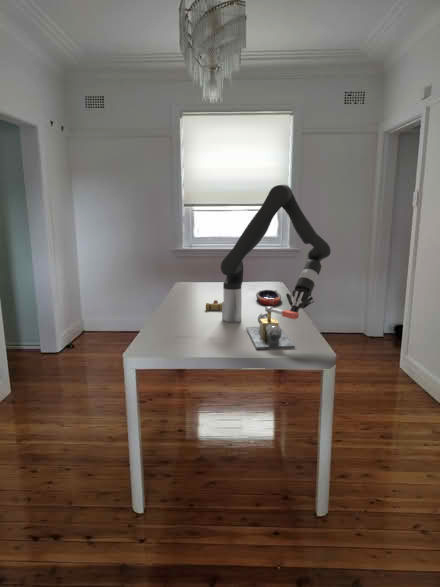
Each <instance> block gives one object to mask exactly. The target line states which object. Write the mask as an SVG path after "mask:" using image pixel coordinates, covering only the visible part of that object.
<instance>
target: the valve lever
mask: <svg viewBox="0 0 440 587" xmlns="http://www.w3.org/2000/svg"><path fill="white" fill-rule="evenodd" d="M264 308H265V309H264V311H265V313H266V312H271V313H275V314H278V315H281V316H282V317H285V318H288V319H291V320H296V319H299V312H298V313H297V312H293V311H290V310H289V309H285V310H282V309H280V308H279V309H278V308H274V306H272V305H266V306H265V307H264Z"/></svg>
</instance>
